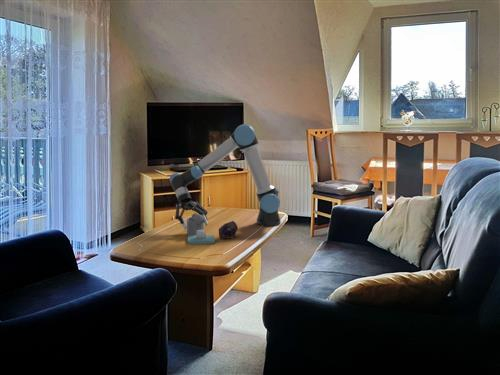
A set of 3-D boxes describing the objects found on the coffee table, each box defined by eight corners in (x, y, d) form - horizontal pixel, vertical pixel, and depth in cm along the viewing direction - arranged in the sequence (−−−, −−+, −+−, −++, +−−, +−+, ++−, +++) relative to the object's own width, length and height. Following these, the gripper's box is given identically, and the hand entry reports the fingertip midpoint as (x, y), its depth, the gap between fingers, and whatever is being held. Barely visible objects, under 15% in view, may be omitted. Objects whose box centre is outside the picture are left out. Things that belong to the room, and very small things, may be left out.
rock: (216, 240, 243) (231, 242, 238) (214, 225, 241) (229, 228, 235) (229, 232, 253) (243, 235, 247) (227, 218, 250) (242, 220, 245)
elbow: (184, 233, 251) (183, 212, 250) (198, 231, 257) (198, 210, 255) (193, 237, 243) (193, 216, 241) (207, 235, 249) (207, 214, 247)
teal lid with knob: (213, 237, 244) (213, 227, 243) (214, 243, 232) (214, 233, 231) (188, 238, 242) (187, 228, 241) (187, 244, 230) (187, 234, 230)
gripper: (199, 198, 268) (213, 227, 258) (162, 202, 253) (174, 233, 243) (204, 190, 263) (218, 220, 253) (166, 194, 248) (179, 225, 238)
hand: (196, 226), depth 248 cm, fingers open, 13 cm apart
